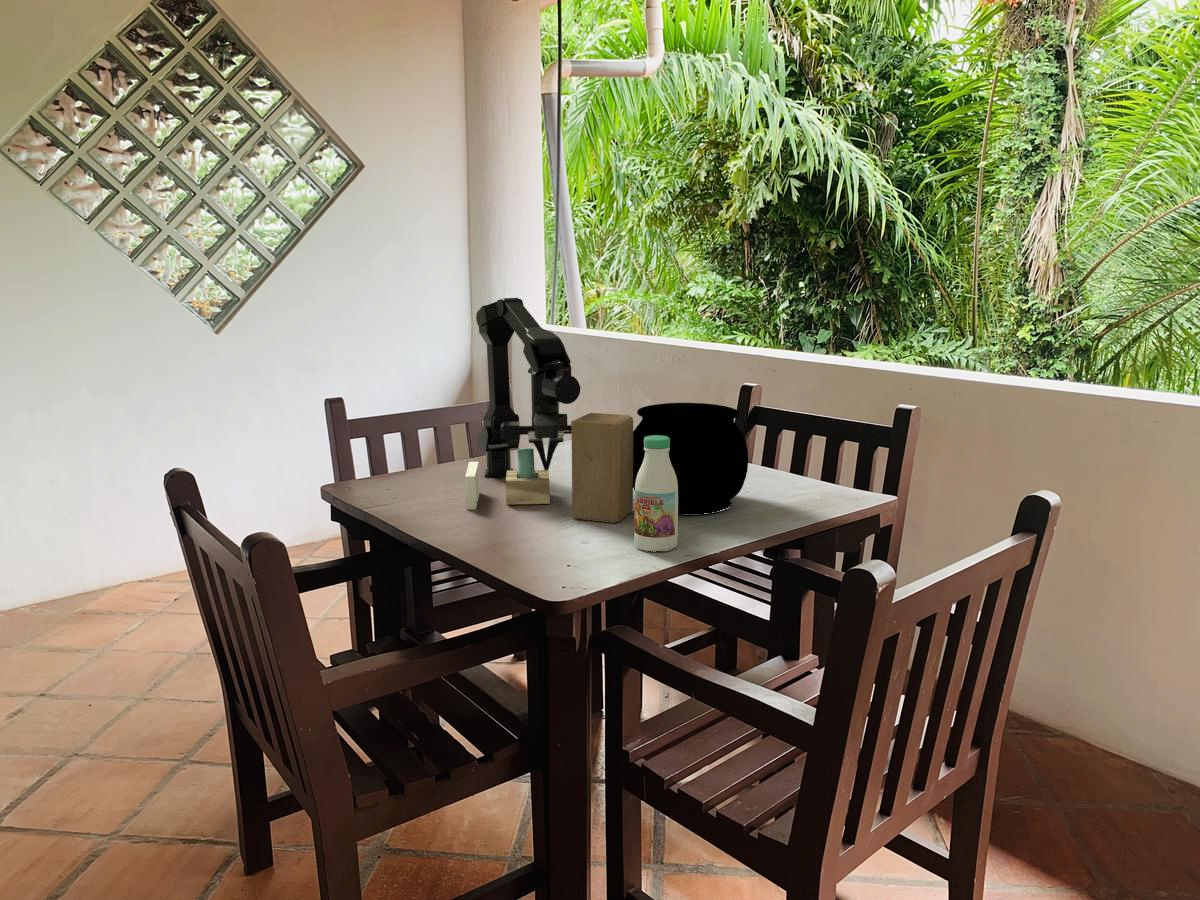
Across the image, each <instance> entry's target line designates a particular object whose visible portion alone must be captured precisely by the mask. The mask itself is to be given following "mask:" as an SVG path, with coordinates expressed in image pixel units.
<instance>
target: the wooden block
mask: <svg viewBox="0 0 1200 900" xmlns="http://www.w3.org/2000/svg"><path fill="white" fill-rule="evenodd" d="M572 421H573V422H572V424H571V423H570V425H571V433H572V434H571V505H572V506H571V508H572V509H571V510H572V512H571V513H572V518H574V519H576V520H581V519H582V520H583V521H590V520H592V521H593V522H600V521H602V522H601V523H609V522H611V523H612V524H617V523H620V522H621V521H622V520H623V519H624V518H626V516H628V515H629V514H630V513H631V512H632V511H633V508H634V488H633V431H634V417H633V416H631V415H629V414H619V413H618V414H616V413H599V412H598V413H597V412H590V413H587V414H585V415H582V416H580V417H578V418H576V419H574V420H572ZM592 521H591V522H592ZM616 522H617V523H616Z"/></svg>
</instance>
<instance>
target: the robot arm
mask: <svg viewBox="0 0 1200 900" xmlns="http://www.w3.org/2000/svg"><path fill="white" fill-rule="evenodd" d="M475 319H476V324H477V325H478V332H479V335H480V336H481V338H482V339H483V340H484V342H485V344H486V356H487V358H486V359H487V375H488V376H487V377H488V397H489V398H488V399H489V407H488V409H487V411H486V413H485V415H484V416H483V419H482V420H483V422H482V423H483V425H482V427H481V430H480V432H479V435H478V437H477V439H476V442H477V449H478V450H479V451H483V452H484V453H486V455H485V456H486V468H485V470H484V477H485V478H495V477H502V478H503V477H505V478H506V474H507V471H514V468H513V467H512V461H511V460H512V459H511V457H512V456H511V452H512V451H511V450H512V449H519V447H520V440H521V436H522V435H527V437H528V444H533V445H534V446H535V449H536V450H537V452H538V455H539V458H540V460H541V463H542V467H543V470H549V469H550V466H551V462H552V460H553V455H554V454H555V450H556V449H557V447H558V445H559V444H560V443H563V442H564V436H565V434H566V435H572V433H571V424H572V422H573V421H574V420H571V421H570V424H568V413H560V403H561V404H564V405H569V404H573V403H575V401H576V400H577V399H578V398H579V396H580V394H581V385H580V382H579V380H578V379H577V378H576V377H575V376H573V375H572V366H571V362H572V361H571V359H570V357H569V355H568V352H567V350H566V347H565V344H564V342H563V341H562V339H561V338H560V337H559V336H558V335H557V334H555V333H554V332H553V331H551V330H547V329H544V328H543V327H541V325H540V324H539V323H538V322H537V320H536V319H535V318H534V316H532V314H531V313H530V312H529V311H528V310H527V308H526V307H525V305H524V301H523V300H522V298H519V297H501V298H500V299H498V300H496V301H495V302H492V303H489V304H486V305H481V307H480V309H478V310H477V311H476V315H475ZM514 333H515V334H516V335H517V336H518V338H519V339H520V341H521V342H522V343H523V346H524V347H523V351H522V353H523V354H524V357H525V359H526V361H527V363H528V364H529V366H530V367H529V368H528V370H527V373H528V374H530V382H531V383H530V384H531V386H530V387H531V388H530V389H531V390H530V391H531V425H521V422H520V416H519V415H518V414H517V413H515V411H514V410H513V408H512V406H511V405H512V404H511V391H510V390H511V388H510V386H511V385H510V368H509V367H510V366H509V343H510V340H511V339H512V338H513V336H514ZM544 439H548V442H547V450H546V451H547V453H546V451H545V445H544Z"/></svg>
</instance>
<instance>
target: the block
mask: <svg viewBox="0 0 1200 900" xmlns="http://www.w3.org/2000/svg"><path fill="white" fill-rule="evenodd" d="M550 496H551V495H550V471H549V469H548V470H544V469H535V478H519V470H513V471H507V474H506V477H505V500H506V501H505V502H506V503H505V504H506V505H536V504H537V505H539V504H540V505H543V504H545V505H546V504H547V505H548V504H551V503H550V500H551V499H550Z"/></svg>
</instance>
